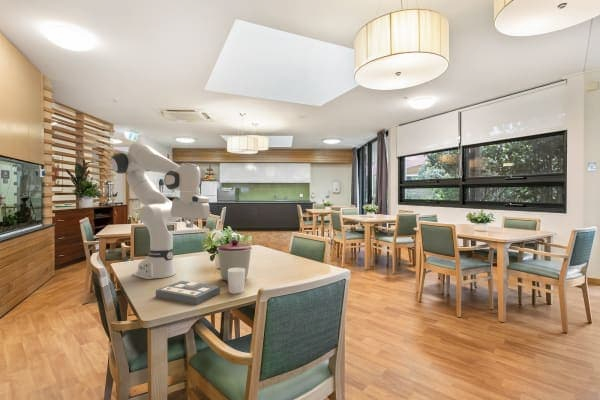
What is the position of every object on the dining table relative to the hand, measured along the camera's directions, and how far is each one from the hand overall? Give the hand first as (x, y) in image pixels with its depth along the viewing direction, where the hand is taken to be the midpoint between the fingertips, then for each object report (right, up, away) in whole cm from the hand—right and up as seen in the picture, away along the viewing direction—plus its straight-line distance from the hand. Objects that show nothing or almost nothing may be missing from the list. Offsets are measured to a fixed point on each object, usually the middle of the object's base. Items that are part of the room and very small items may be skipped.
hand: (189, 227), depth 136 cm
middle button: (+3, -27, -6) cm, 28 cm away
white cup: (+22, -29, -2) cm, 37 cm away
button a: (-3, -28, -4) cm, 29 cm away
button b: (+9, -29, -9) cm, 31 cm away
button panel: (+3, -29, -8) cm, 30 cm away
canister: (+17, -29, +17) cm, 38 cm away
